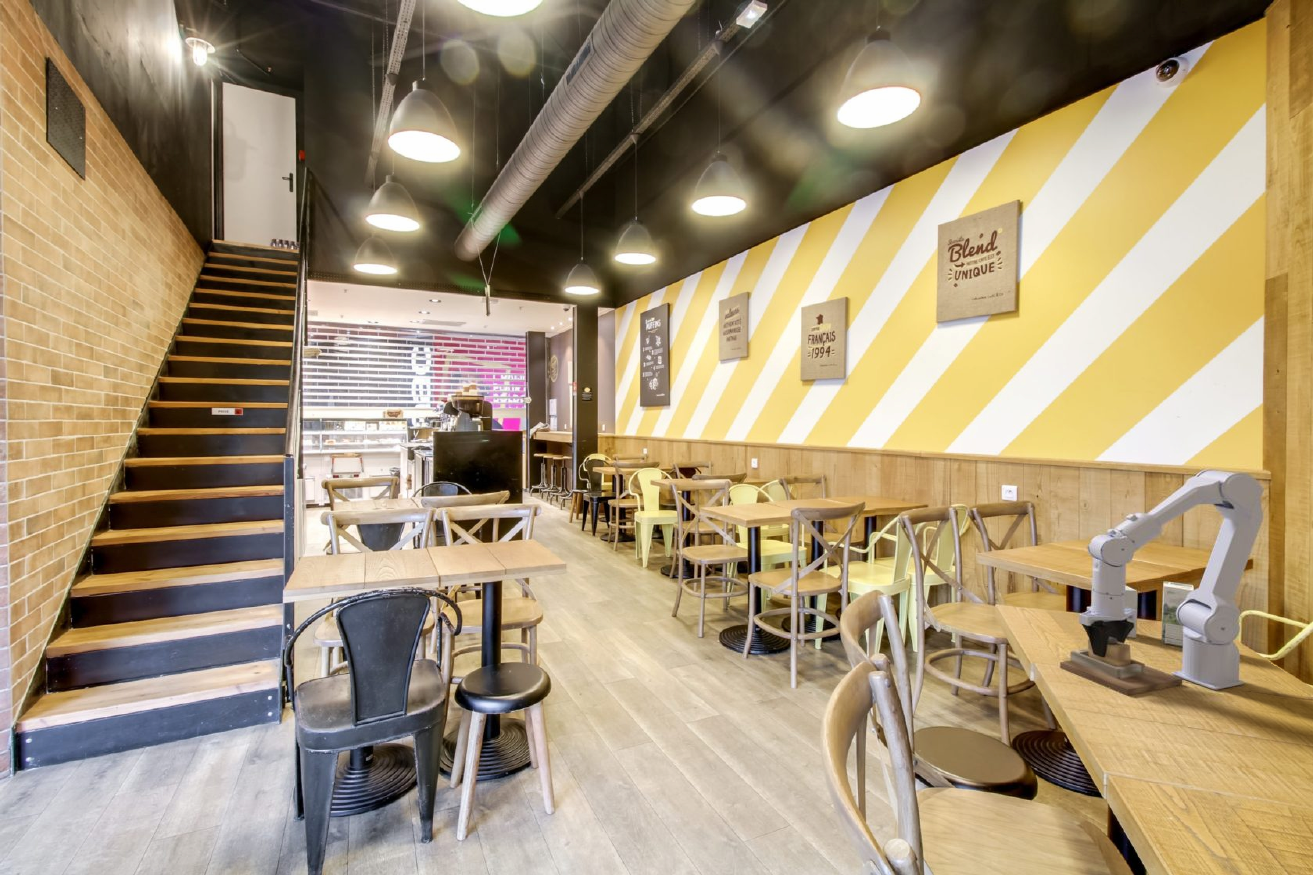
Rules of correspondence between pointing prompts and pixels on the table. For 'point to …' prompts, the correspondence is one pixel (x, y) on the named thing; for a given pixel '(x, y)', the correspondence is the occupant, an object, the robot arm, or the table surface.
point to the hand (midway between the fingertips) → (1106, 654)
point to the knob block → (1113, 653)
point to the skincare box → (1131, 607)
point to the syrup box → (1173, 612)
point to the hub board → (1119, 674)
